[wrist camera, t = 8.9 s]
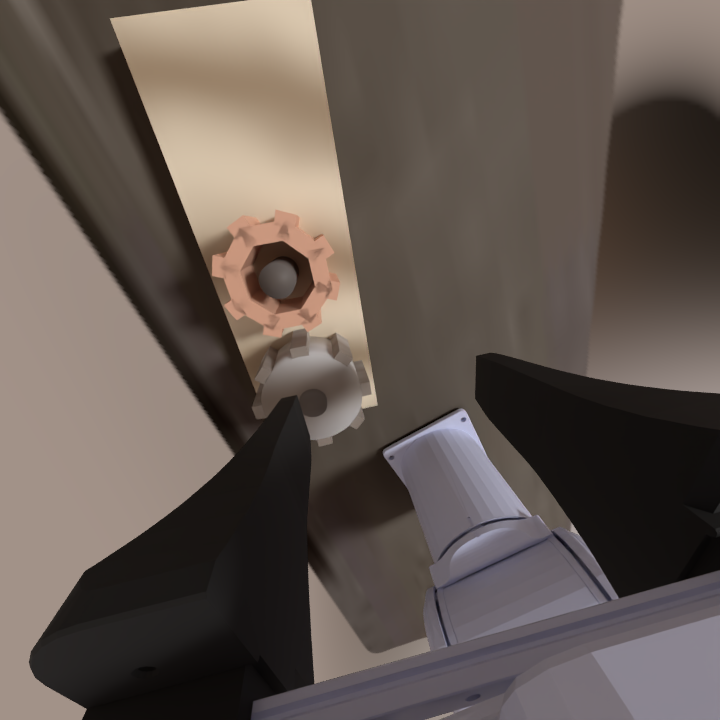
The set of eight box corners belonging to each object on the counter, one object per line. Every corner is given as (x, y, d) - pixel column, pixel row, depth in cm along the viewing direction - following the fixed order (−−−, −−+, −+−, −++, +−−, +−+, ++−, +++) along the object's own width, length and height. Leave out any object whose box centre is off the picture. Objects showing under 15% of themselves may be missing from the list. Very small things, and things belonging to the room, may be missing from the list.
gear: (322, 205, 15) (324, 200, 12) (343, 309, 17) (348, 323, 15) (214, 224, 14) (191, 224, 12) (251, 327, 17) (239, 346, 14)
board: (373, 394, 22) (388, 436, 18) (273, 416, 22) (262, 465, 17) (310, 17, 13) (307, -96, 8) (132, 41, 12) (29, -65, 8)
